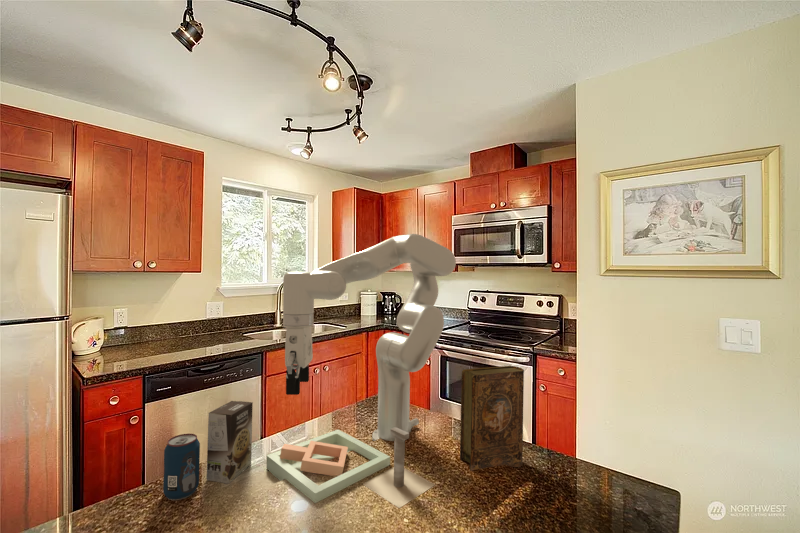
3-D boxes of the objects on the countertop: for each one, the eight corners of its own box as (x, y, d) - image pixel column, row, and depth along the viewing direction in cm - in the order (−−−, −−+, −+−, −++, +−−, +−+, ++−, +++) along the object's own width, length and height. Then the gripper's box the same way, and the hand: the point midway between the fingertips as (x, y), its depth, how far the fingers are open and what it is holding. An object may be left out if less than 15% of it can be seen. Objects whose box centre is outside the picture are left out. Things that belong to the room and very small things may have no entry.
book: (512, 456, 102) (514, 365, 102) (525, 466, 97) (527, 370, 97) (459, 465, 97) (461, 369, 97) (470, 476, 91) (472, 375, 92)
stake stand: (398, 470, 93) (399, 416, 94) (435, 491, 85) (436, 431, 85) (361, 490, 85) (362, 430, 85) (399, 515, 77) (400, 449, 77)
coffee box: (229, 484, 86) (230, 415, 87) (205, 480, 88) (206, 412, 88) (252, 464, 95) (253, 401, 95) (230, 461, 97) (231, 399, 97)
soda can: (176, 483, 87) (177, 431, 87) (205, 484, 86) (206, 432, 86) (155, 501, 80) (156, 445, 80) (187, 502, 79) (188, 446, 79)
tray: (337, 441, 109) (338, 429, 109) (389, 470, 93) (390, 456, 93) (266, 469, 93) (266, 455, 93) (314, 510, 78) (315, 493, 78)
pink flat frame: (346, 456, 98) (348, 446, 98) (341, 477, 88) (343, 467, 88) (286, 446, 98) (288, 436, 98) (275, 466, 88) (276, 456, 88)
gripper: (305, 325, 85) (304, 399, 85) (320, 315, 103) (319, 377, 103) (272, 325, 85) (272, 400, 85) (292, 315, 102) (292, 377, 102)
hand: (298, 387), depth 94 cm, fingers open, 9 cm apart
